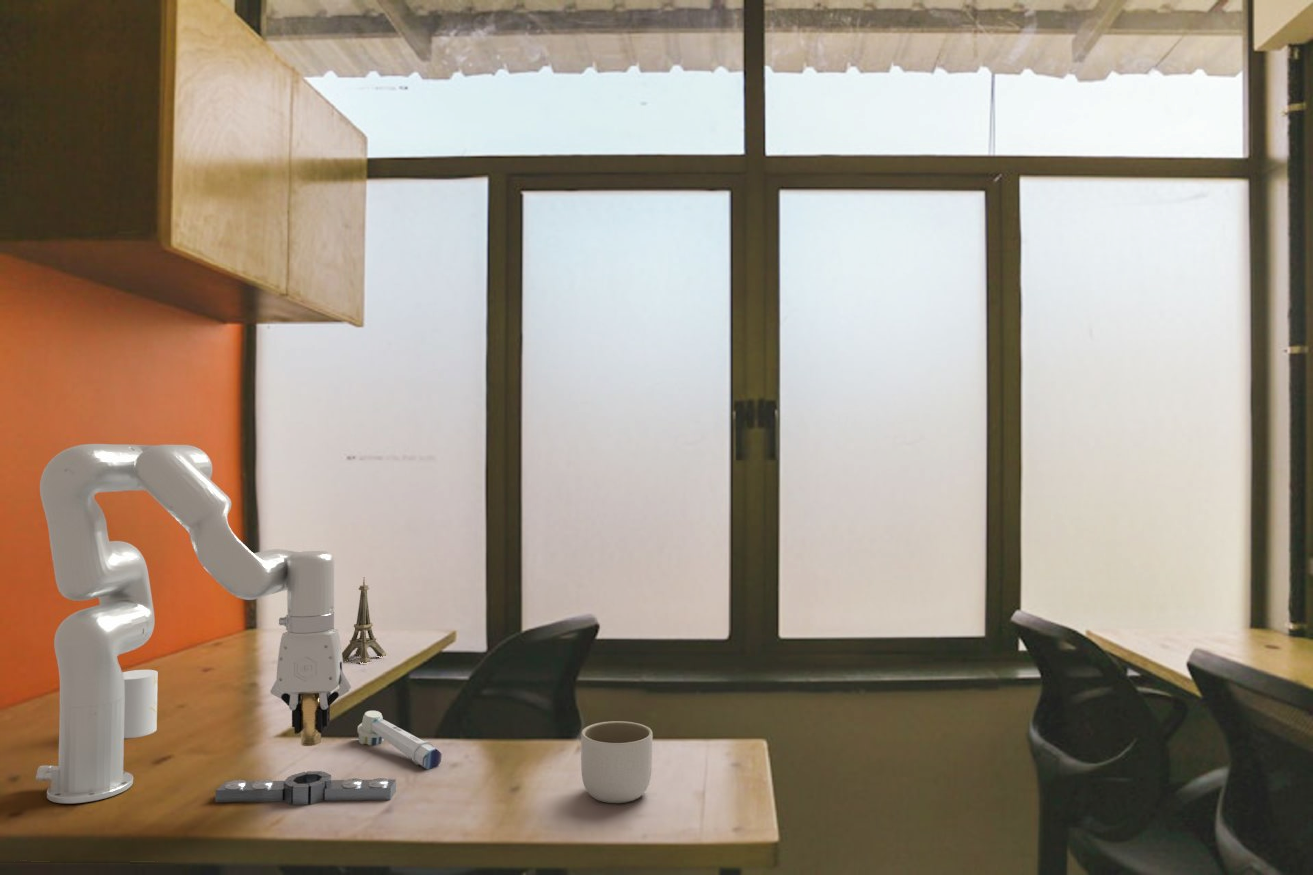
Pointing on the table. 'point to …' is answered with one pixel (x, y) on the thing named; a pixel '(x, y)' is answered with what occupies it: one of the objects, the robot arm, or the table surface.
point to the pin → (309, 719)
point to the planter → (616, 760)
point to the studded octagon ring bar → (306, 789)
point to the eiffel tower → (363, 632)
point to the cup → (140, 703)
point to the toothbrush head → (397, 740)
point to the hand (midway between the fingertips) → (311, 729)
